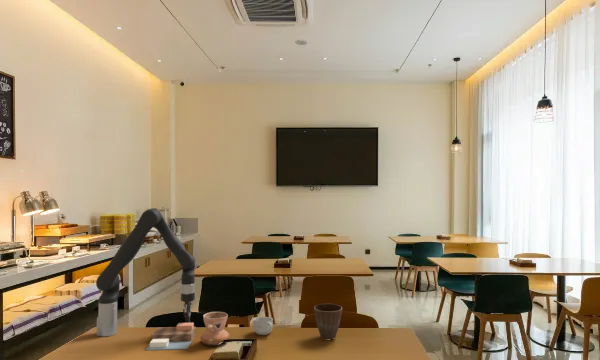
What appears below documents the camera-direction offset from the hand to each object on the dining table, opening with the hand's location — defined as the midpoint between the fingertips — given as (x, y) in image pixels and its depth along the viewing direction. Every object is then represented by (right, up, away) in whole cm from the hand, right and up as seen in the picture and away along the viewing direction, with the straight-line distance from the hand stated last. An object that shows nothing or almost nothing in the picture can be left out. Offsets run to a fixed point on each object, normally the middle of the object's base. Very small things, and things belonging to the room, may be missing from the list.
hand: (187, 323), depth 222 cm
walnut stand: (-4, -5, -9) cm, 11 cm away
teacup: (+42, -5, -2) cm, 43 cm away
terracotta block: (0, -1, -6) cm, 6 cm away
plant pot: (+77, -5, -8) cm, 77 cm away
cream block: (-8, -1, -20) cm, 22 cm away
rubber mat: (-4, -4, -20) cm, 21 cm away
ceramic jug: (+18, -5, -15) cm, 24 cm away
